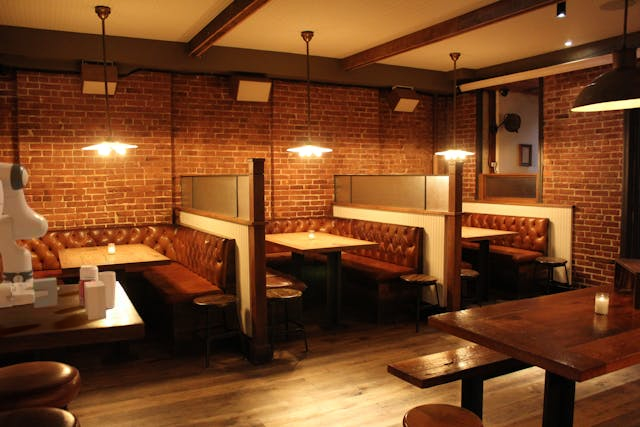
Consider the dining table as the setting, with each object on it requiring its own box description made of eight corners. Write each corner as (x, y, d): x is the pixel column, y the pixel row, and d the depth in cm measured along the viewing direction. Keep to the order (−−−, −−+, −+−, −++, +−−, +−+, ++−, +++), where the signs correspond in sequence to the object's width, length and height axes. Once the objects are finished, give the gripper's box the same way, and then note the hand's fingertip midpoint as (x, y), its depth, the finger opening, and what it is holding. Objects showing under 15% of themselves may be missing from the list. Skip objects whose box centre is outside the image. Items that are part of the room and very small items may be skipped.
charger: (34, 304, 213) (32, 279, 212) (59, 302, 217) (58, 277, 216) (34, 307, 209) (33, 282, 208) (60, 304, 213) (59, 279, 212)
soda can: (100, 303, 241) (99, 276, 240) (91, 307, 234) (90, 280, 233) (84, 303, 241) (83, 276, 240) (76, 307, 234) (74, 279, 233)
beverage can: (102, 289, 270) (101, 264, 269) (91, 292, 262) (90, 267, 261) (87, 288, 271) (86, 264, 270) (77, 291, 264) (75, 267, 263)
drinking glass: (107, 305, 238) (106, 270, 237) (120, 306, 236) (118, 271, 235) (96, 308, 232) (94, 273, 231) (108, 310, 230) (107, 274, 228)
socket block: (85, 313, 225) (84, 282, 223) (102, 311, 228) (101, 280, 227) (88, 320, 215) (87, 287, 214) (106, 317, 218) (105, 285, 217)
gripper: (5, 293, 197) (48, 288, 203) (6, 281, 214) (46, 277, 221) (6, 310, 197) (49, 305, 204) (7, 296, 215) (46, 292, 222)
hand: (47, 290), depth 213 cm, fingers closed on charger, 4 cm apart
